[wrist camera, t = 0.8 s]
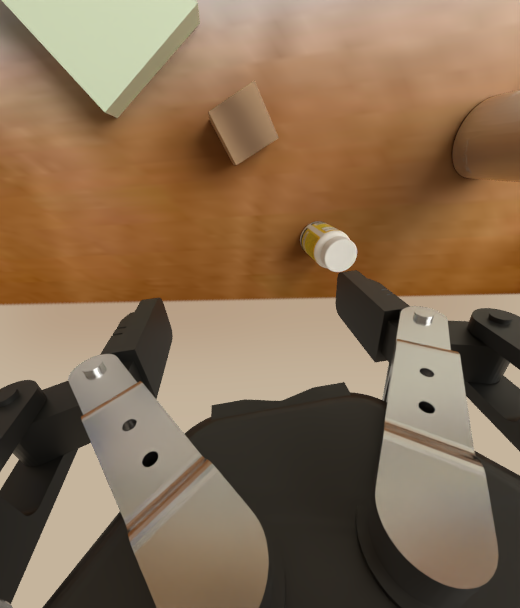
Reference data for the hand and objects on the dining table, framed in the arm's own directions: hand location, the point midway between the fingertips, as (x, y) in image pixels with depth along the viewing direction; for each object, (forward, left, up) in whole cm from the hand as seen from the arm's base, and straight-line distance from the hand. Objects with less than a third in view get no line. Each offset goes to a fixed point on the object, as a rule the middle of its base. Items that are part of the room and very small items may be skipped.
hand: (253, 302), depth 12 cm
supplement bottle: (-9, +9, -25) cm, 28 cm away
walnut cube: (-6, -7, -25) cm, 26 cm away
